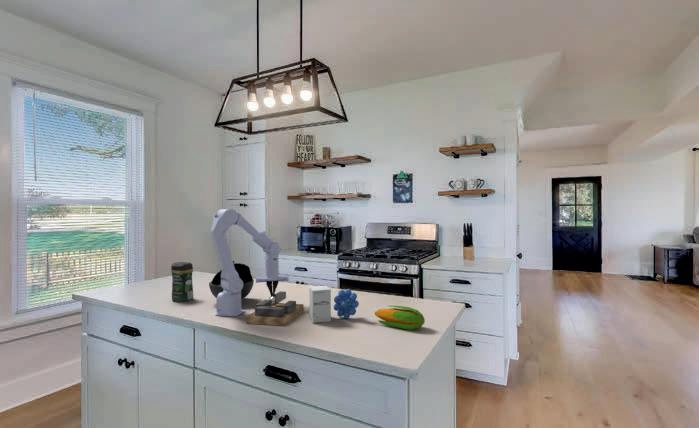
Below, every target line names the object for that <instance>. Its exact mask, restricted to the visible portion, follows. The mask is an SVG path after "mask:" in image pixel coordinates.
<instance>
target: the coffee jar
mask: <svg viewBox="0 0 699 428" xmlns="http://www.w3.org/2000/svg"><path fill="white" fill-rule="evenodd" d="M170 267H171V268H170V272H171V277H172V278H171V279H172V283H171V285H172V286H171V300H172V301H175V302H186V301H187V302H189V301H191V300H192V299H194V284H193V271H194V268H193V263H192V262H187V261H177V262H173V263H172V264H171V266H170Z"/></svg>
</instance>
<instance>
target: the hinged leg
mask: <svg viewBox="0 0 699 428" xmlns="http://www.w3.org/2000/svg"><path fill="white" fill-rule="evenodd" d="M285 299H287V291H282V290H281V291H278V292H275V295H273V296H271V295H270V296H269V297H268V300H272V306H273V305H276V304H278V303H282V302H283V301H284V300H285Z"/></svg>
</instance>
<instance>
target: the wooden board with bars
mask: <svg viewBox="0 0 699 428" xmlns="http://www.w3.org/2000/svg"><path fill="white" fill-rule="evenodd" d="M304 305H305V304H304V303H303V304H302V303H297V301H296V300H288V301H287V302H279V303H278V304H276V305H273V306H272V300H269V299H264V300H262V301H259V302H258V303H257V304H255V307H254V311H253V312H250V314H248V315H246V316H245V323H246V324H254V325H255V324H256V325H268V326H269V325H271V326H283V327H284V326H286V325H288V324H289V323H290V322H292V321H293V319H294V318H296V317H297V316H298V315H300V313H302V312H303V311H304V309H305V308H304V307H305V306H304Z"/></svg>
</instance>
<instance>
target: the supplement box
mask: <svg viewBox="0 0 699 428" xmlns="http://www.w3.org/2000/svg"><path fill="white" fill-rule="evenodd" d="M308 288H309V296H308V297H309V319H310V320H311V322H312V324H315V323H316V324H317V323H326V322H327V323H328V322H332V308H331V307H332V303H331V302H332V301H331V299H332V295H331V294H332V293H331V292H332V291H331V288H330V287H329V285H320V286H309V287H308Z"/></svg>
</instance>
